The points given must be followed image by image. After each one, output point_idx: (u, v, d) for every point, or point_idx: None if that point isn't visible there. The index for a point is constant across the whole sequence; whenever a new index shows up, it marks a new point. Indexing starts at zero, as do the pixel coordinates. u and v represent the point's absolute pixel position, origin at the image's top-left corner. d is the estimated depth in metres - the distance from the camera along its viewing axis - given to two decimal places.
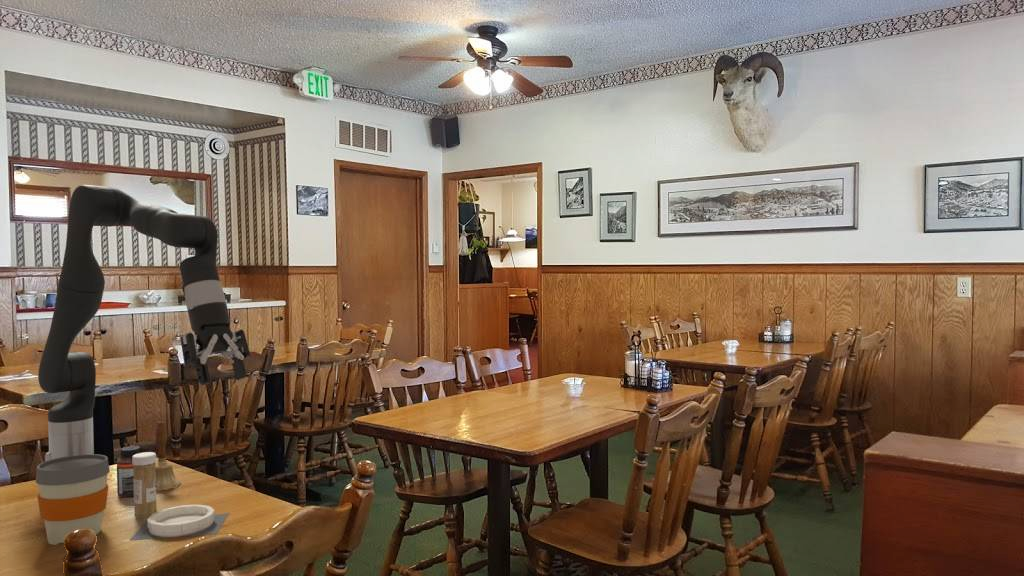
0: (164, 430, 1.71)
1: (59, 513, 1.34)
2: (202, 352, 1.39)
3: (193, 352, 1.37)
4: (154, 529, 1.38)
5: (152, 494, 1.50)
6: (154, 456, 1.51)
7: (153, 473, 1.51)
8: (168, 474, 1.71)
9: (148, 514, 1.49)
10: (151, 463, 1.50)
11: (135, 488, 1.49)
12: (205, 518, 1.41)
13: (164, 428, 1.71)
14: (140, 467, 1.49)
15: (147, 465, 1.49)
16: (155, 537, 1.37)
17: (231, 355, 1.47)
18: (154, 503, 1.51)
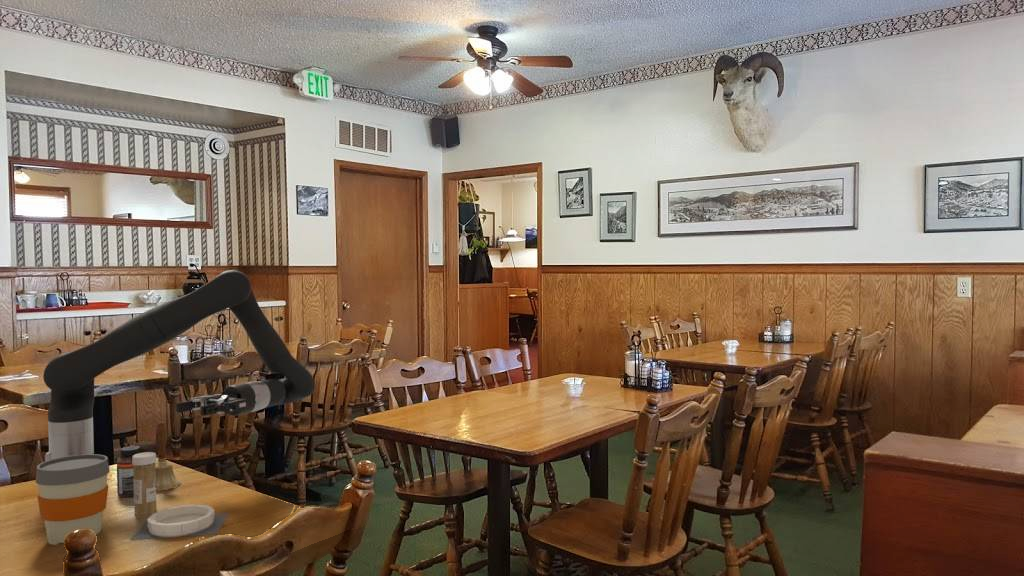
0: (164, 430, 1.71)
1: (59, 513, 1.34)
2: None
3: None
4: (154, 529, 1.38)
5: (152, 494, 1.50)
6: (154, 456, 1.51)
7: (153, 473, 1.51)
8: (168, 474, 1.71)
9: (148, 514, 1.49)
10: (151, 463, 1.50)
11: (135, 488, 1.49)
12: (205, 518, 1.41)
13: (164, 428, 1.71)
14: (140, 467, 1.49)
15: (147, 465, 1.49)
16: (155, 537, 1.37)
17: (198, 401, 1.67)
18: (154, 503, 1.51)
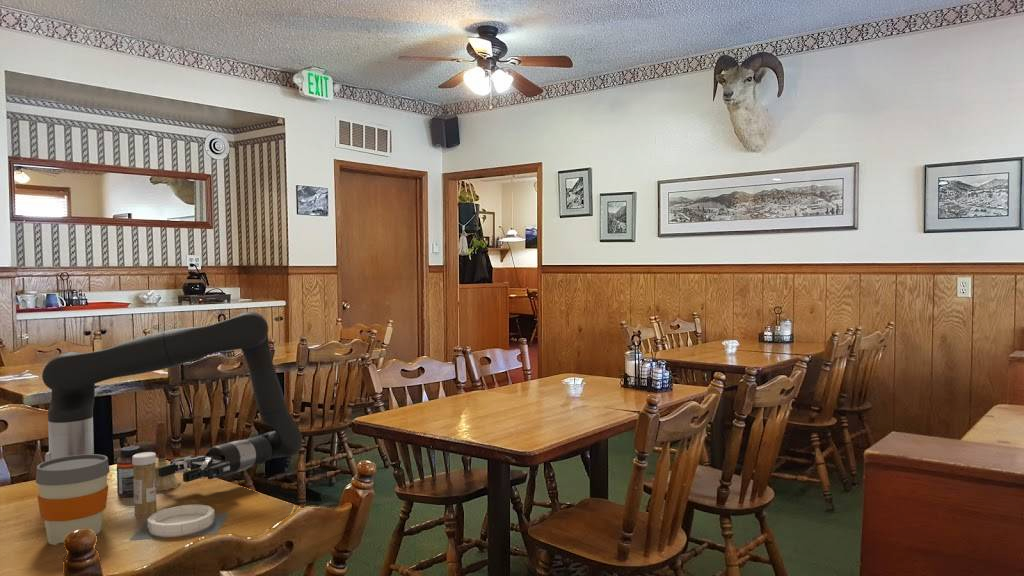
0: (164, 430, 1.71)
1: (59, 513, 1.34)
2: None
3: None
4: (154, 529, 1.38)
5: (152, 494, 1.50)
6: (154, 456, 1.51)
7: (153, 473, 1.51)
8: None
9: (148, 514, 1.49)
10: (151, 463, 1.50)
11: (135, 488, 1.49)
12: (205, 518, 1.41)
13: (164, 428, 1.71)
14: (140, 467, 1.49)
15: (147, 465, 1.49)
16: (155, 537, 1.37)
17: None
18: (154, 503, 1.51)
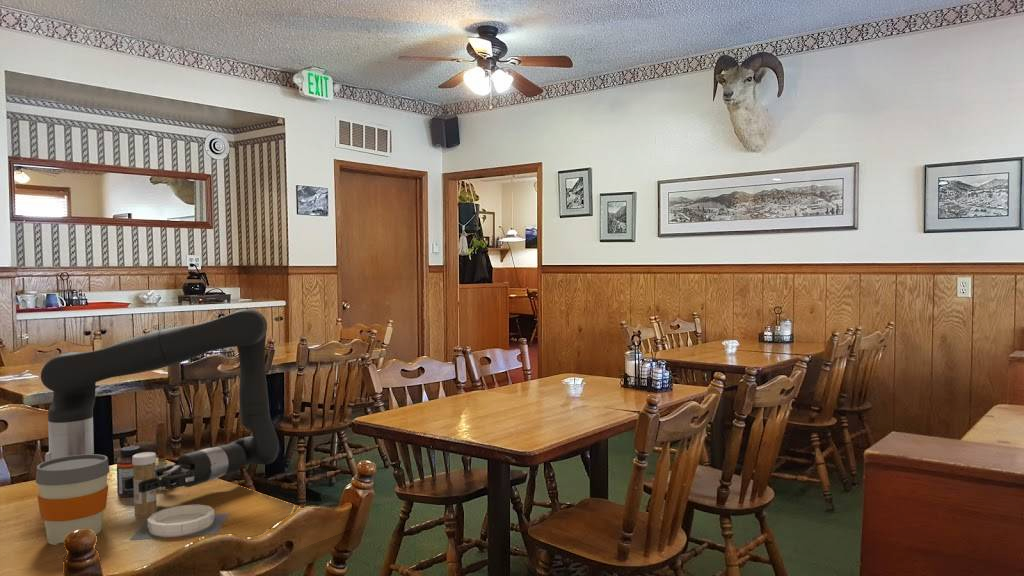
0: (164, 430, 1.71)
1: (59, 513, 1.34)
2: None
3: None
4: (154, 529, 1.38)
5: (152, 494, 1.50)
6: (154, 456, 1.51)
7: (153, 473, 1.51)
8: None
9: (148, 514, 1.49)
10: (151, 463, 1.50)
11: (135, 488, 1.49)
12: (205, 518, 1.41)
13: (164, 428, 1.71)
14: (140, 467, 1.49)
15: (147, 465, 1.49)
16: (155, 537, 1.37)
17: None
18: (154, 503, 1.51)
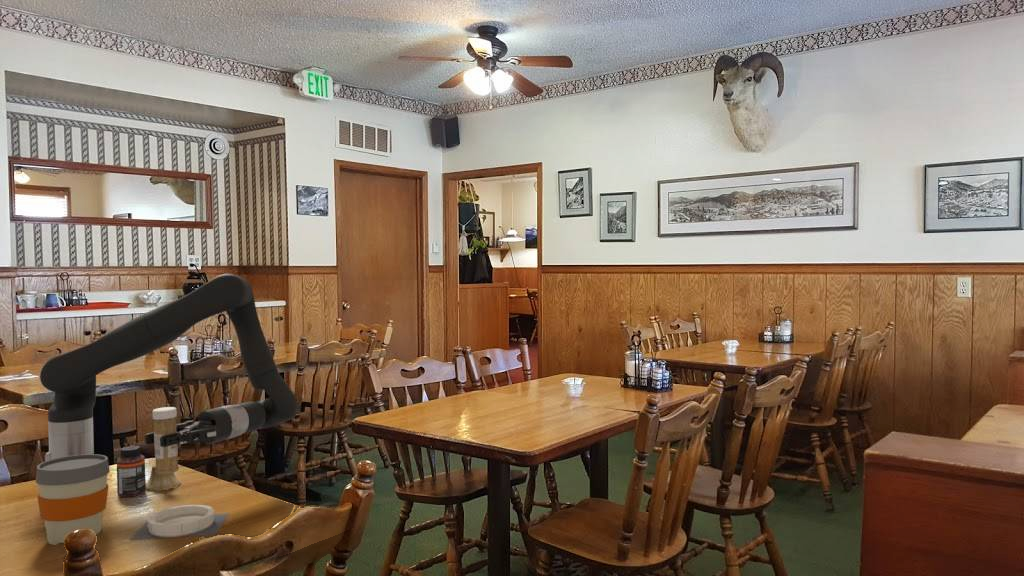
0: None
1: (59, 513, 1.34)
2: None
3: None
4: (154, 529, 1.38)
5: (173, 449, 1.46)
6: (175, 410, 1.47)
7: (174, 428, 1.47)
8: (168, 474, 1.71)
9: (170, 469, 1.45)
10: (172, 417, 1.46)
11: (156, 443, 1.45)
12: (205, 518, 1.41)
13: None
14: (161, 421, 1.45)
15: (168, 419, 1.45)
16: (155, 537, 1.37)
17: None
18: (175, 459, 1.47)
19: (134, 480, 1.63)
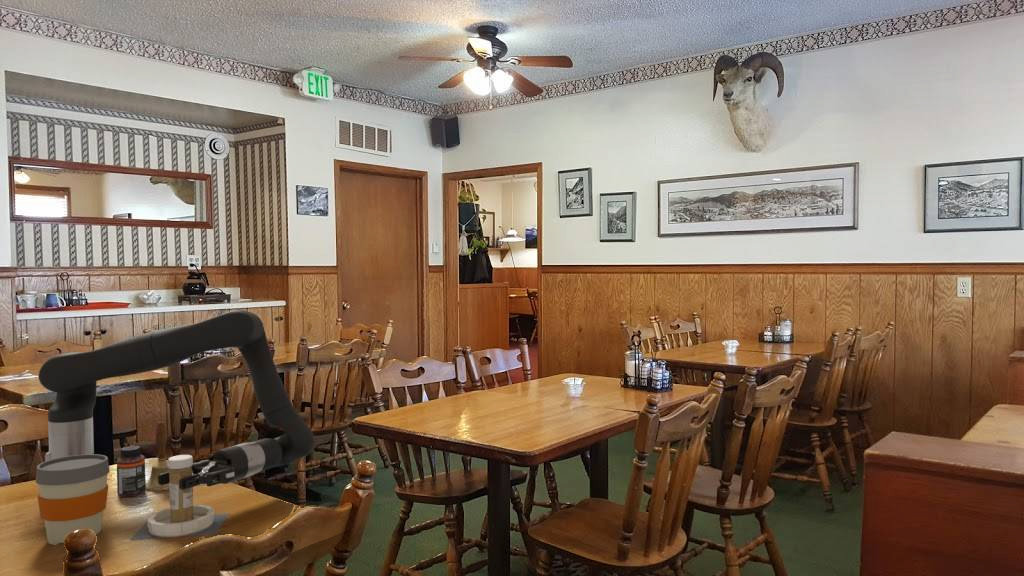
0: (164, 430, 1.71)
1: (59, 513, 1.34)
2: None
3: None
4: (154, 529, 1.38)
5: (189, 499, 1.42)
6: (191, 459, 1.43)
7: None
8: None
9: (185, 520, 1.41)
10: (188, 466, 1.42)
11: (171, 493, 1.41)
12: (205, 518, 1.41)
13: (164, 428, 1.71)
14: (176, 471, 1.41)
15: (184, 469, 1.41)
16: (155, 537, 1.37)
17: None
18: (191, 509, 1.43)
19: (134, 480, 1.63)
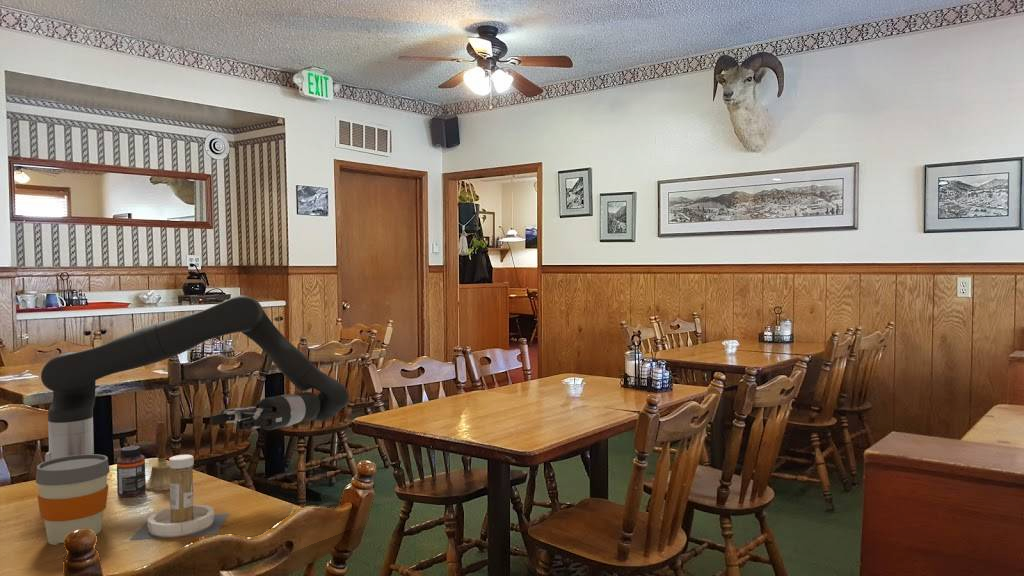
0: (164, 430, 1.71)
1: (59, 513, 1.34)
2: None
3: None
4: (154, 529, 1.38)
5: (189, 499, 1.42)
6: (192, 459, 1.43)
7: (191, 477, 1.43)
8: (168, 474, 1.71)
9: (185, 520, 1.41)
10: (189, 466, 1.42)
11: (172, 492, 1.41)
12: (205, 518, 1.41)
13: (164, 428, 1.71)
14: (177, 470, 1.41)
15: (185, 468, 1.41)
16: (155, 537, 1.37)
17: None
18: (191, 509, 1.43)
19: (134, 480, 1.63)
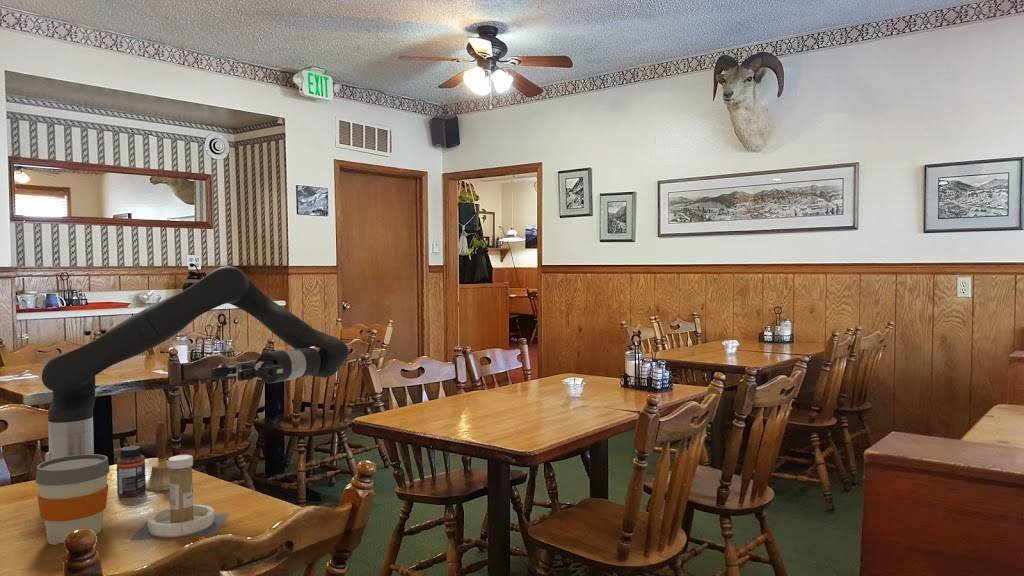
0: (164, 430, 1.71)
1: (59, 513, 1.34)
2: None
3: (269, 377, 1.56)
4: (154, 529, 1.38)
5: (189, 499, 1.42)
6: (191, 459, 1.43)
7: (190, 477, 1.43)
8: (168, 474, 1.71)
9: (185, 520, 1.41)
10: (188, 466, 1.42)
11: (171, 493, 1.41)
12: (205, 518, 1.41)
13: (164, 428, 1.71)
14: (177, 470, 1.41)
15: (184, 469, 1.41)
16: (155, 537, 1.37)
17: (233, 367, 1.60)
18: (191, 509, 1.43)
19: (134, 480, 1.63)
